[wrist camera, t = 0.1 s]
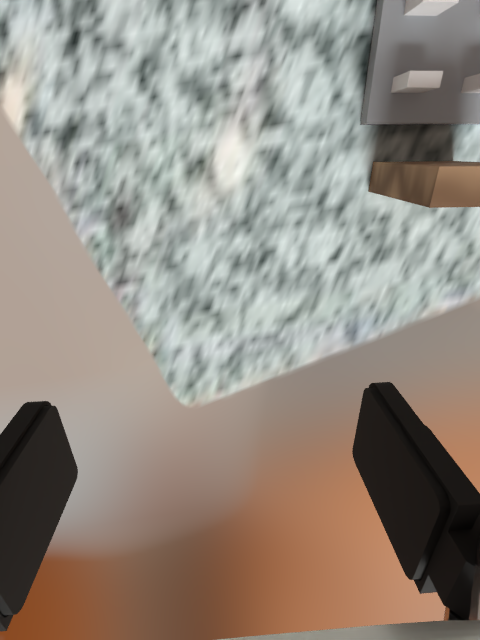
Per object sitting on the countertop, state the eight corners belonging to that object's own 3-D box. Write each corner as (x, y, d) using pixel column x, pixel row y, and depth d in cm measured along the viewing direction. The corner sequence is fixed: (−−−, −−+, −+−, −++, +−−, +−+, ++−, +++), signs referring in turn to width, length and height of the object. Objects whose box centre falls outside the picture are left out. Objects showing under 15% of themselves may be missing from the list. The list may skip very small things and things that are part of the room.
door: (375, 149, 36) (443, 148, 25) (456, 148, 36) (557, 148, 25) (368, 191, 37) (429, 207, 27) (445, 190, 38) (535, 205, 27)
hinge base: (382, -35, 29) (408, -65, 25) (534, -32, 30) (584, -60, 26) (360, 124, 34) (379, 121, 30) (489, 124, 35) (525, 120, 31)
